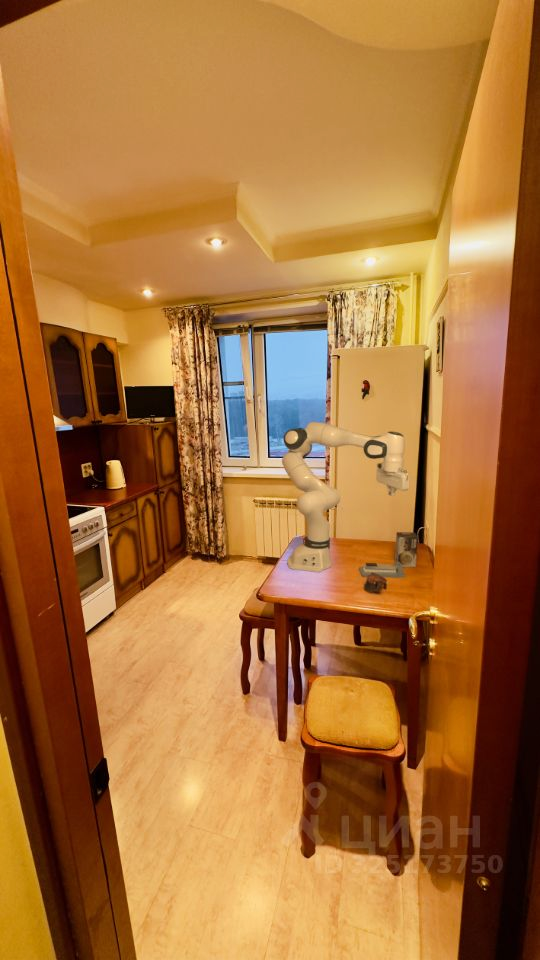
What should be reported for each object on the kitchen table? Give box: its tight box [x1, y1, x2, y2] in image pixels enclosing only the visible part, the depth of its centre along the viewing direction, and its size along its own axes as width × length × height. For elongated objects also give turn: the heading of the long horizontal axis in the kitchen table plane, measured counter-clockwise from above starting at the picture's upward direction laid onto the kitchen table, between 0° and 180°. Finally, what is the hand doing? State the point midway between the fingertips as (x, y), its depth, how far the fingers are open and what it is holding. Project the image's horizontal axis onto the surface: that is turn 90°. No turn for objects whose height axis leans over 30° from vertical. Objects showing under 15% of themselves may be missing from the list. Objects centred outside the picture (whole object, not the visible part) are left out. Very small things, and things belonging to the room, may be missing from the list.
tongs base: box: [358, 561, 406, 579], centre depth 174 cm, size 20×8×4 cm, turn 86°
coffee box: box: [394, 531, 419, 568], centre depth 181 cm, size 9×6×16 cm
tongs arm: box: [363, 562, 400, 570], centre depth 173 cm, size 16×3×2 cm, turn 86°
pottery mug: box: [363, 572, 388, 594], centre depth 159 cm, size 12×10×8 cm
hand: (391, 495), depth 172 cm, fingers closed
